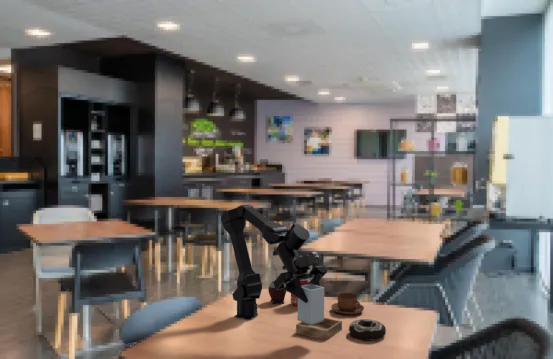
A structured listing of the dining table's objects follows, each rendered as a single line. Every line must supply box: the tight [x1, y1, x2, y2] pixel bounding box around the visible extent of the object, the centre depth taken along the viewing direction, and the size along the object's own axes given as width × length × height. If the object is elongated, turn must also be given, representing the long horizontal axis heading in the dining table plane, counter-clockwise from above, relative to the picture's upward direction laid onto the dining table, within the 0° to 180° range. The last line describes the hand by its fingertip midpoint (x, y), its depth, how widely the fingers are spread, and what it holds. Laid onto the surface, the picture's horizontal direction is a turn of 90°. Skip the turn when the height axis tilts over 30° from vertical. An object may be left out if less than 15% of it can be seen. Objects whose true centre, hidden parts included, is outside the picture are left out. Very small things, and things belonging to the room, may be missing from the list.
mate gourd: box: [267, 261, 287, 305], centre depth 195 cm, size 8×8×15 cm
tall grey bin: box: [297, 284, 325, 325], centre depth 152 cm, size 6×6×10 cm
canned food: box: [290, 279, 309, 308], centre depth 192 cm, size 8×8×11 cm
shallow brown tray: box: [295, 317, 343, 341], centre depth 162 cm, size 11×11×3 cm
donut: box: [348, 318, 387, 341], centre depth 159 cm, size 12×12×4 cm
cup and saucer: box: [331, 292, 365, 315], centre depth 184 cm, size 12×12×6 cm
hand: (314, 300), depth 151 cm, fingers closed on tall grey bin, 5 cm apart
